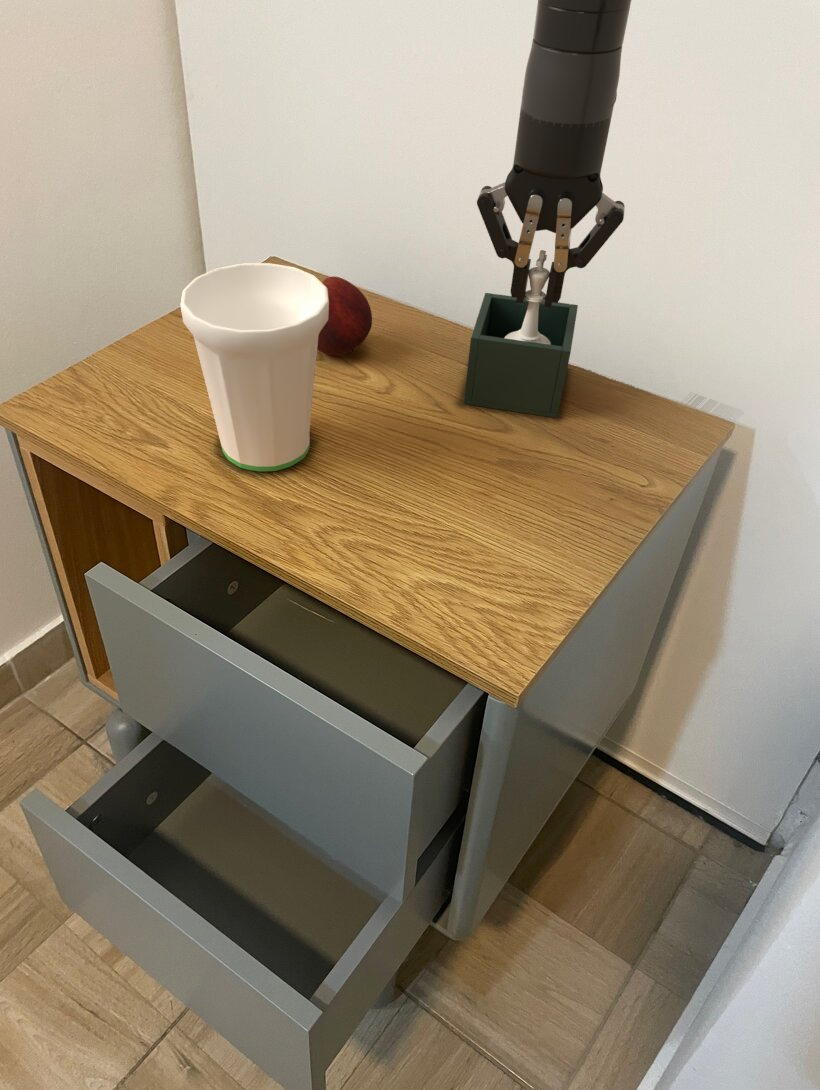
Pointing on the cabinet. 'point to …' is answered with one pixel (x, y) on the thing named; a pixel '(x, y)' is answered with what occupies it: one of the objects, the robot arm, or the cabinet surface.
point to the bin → (519, 357)
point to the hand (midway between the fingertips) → (534, 301)
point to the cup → (258, 357)
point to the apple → (344, 318)
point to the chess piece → (533, 304)
